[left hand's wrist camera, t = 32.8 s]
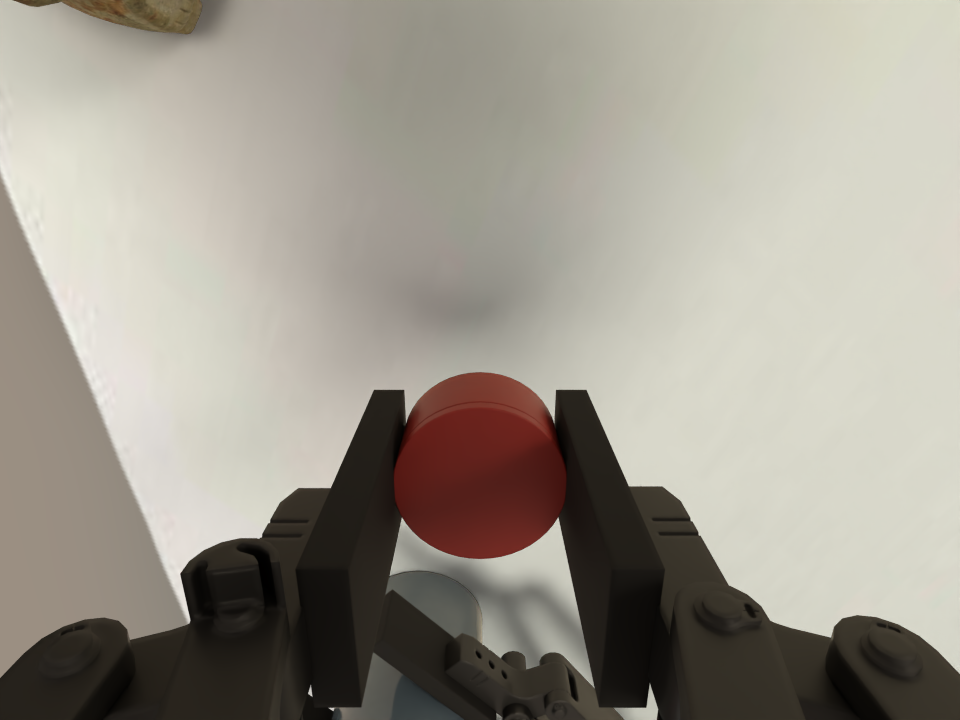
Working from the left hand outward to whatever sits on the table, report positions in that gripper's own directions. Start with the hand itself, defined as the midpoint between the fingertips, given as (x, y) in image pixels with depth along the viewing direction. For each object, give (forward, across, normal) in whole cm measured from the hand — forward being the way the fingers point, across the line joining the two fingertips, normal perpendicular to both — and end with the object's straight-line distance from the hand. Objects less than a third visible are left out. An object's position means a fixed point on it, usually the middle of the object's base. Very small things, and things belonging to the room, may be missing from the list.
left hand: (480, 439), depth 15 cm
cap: (-2, 0, 0) cm, 2 cm away
